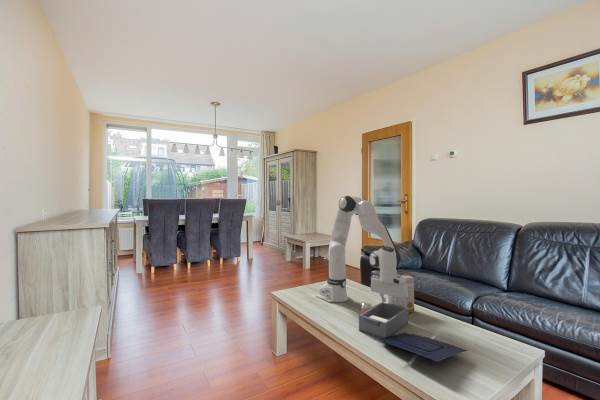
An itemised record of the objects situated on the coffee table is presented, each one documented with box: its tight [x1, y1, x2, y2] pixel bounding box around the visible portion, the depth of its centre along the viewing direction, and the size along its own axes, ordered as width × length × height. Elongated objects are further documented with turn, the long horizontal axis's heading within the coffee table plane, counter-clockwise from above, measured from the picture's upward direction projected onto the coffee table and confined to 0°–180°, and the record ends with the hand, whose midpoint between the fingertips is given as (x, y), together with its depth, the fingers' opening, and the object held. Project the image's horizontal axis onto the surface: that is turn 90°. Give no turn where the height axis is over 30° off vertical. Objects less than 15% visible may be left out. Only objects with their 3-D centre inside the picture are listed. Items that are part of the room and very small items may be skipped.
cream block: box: [369, 315, 388, 322], centre depth 145 cm, size 10×7×5 cm
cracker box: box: [387, 275, 415, 314], centre depth 171 cm, size 14×6×21 cm, turn 99°
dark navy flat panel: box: [378, 332, 469, 362], centre depth 126 cm, size 24×30×4 cm
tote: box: [358, 301, 409, 339], centre depth 150 cm, size 15×27×8 cm, turn 137°
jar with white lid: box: [360, 302, 372, 314], centre depth 161 cm, size 5×5×8 cm
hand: (388, 302), depth 154 cm, fingers open, 5 cm apart
